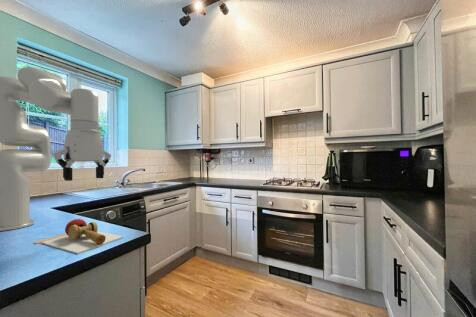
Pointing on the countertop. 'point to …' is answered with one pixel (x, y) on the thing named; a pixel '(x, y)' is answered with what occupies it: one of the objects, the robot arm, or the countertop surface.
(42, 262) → the countertop surface
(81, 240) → the mat
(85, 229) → the kendama
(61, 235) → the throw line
